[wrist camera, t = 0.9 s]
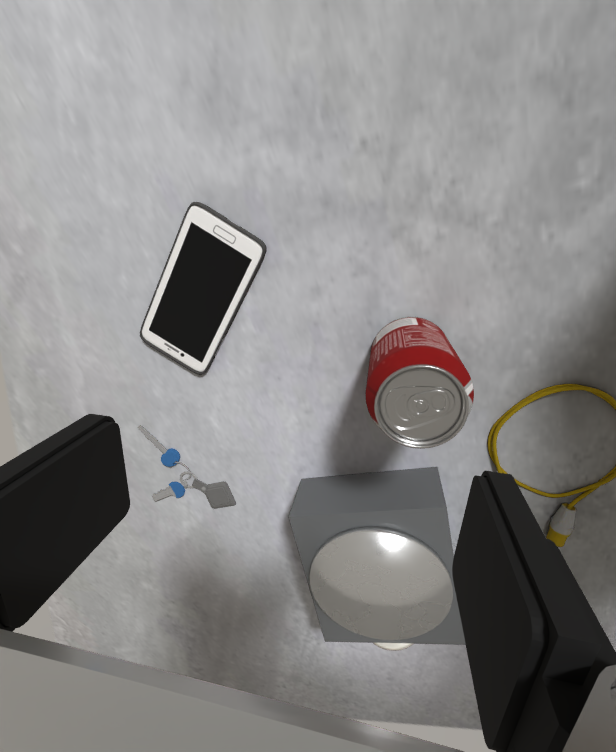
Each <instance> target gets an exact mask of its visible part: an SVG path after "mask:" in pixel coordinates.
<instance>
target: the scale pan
mask: <svg viewBox="0 0 616 752" xmlns="http://www.w3.org/2000/svg"><path fill="white" fill-rule="evenodd" d="M310 586H311V591H312V593H313V596H314V598H315V600H316V602H317V603H318V605H319V606H320V608H321V609H322V610H323V611H324V612H325V613H326V614H327V615H328V616H329V617H330V618H331V619H332V620H333V621H335V622H336V623H338V624H339V625H341V626H342V627H344V628H346V629H348V630H350V631H352V632H354V633H357V634H360V635H363V636H366V637H370V638H375V639H382V640H402V639H409V638H413V637H417V636H419V635H422V634H425V633H427V632H429V631H430V630H432V629H433V628H435V627H436V626H438V625H439V624H440V623H441V622H442V621H443V620H444V618H445V617H446V616H447V614H448V612H449V610H450V608H451V605H452V600H453V588H452V583H451V578H450V574H449V571H448V569H447V567H446V565H445V563H444V562H443V560H442V559H441V557H440V556H439V555H438V554H437V553H436V552H435V551H434V550H433V549H432V548H431V547H430V546H429V545H427V544H426V543H425V542H423V541H422V540H420V539H418V538H417V537H415V536H413V535H410V534H408V533H406V532H403V531H400V530H397V529H393V528H388V527H380V526H363V527H355V528H351V529H347V530H344V531H342V532H339V533H337V534H335V535H333V536H332V537H330V538H329V539H328V540H326V541H325V542H324V543H323V544H322V545H321V546H320V548H319V549H318V550H317V552H316V554H315V556H314V558H313V562H312V565H311V570H310Z"/></svg>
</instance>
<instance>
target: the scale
mask: <svg viewBox="0 0 616 752" xmlns="http://www.w3.org/2000/svg"><path fill="white" fill-rule="evenodd" d="M289 520H290V524H291V527H292V531H293V534H294V537H295V541H296V544H297V548H298V551H299V554H300V558H301V561H302V565H303V568H304V571H305V575H306V578H307V582H308V585H309V589H310V592H311V595H312V599H313V602H314V606H315V609H316V612H317V616H318V619H319V623H320V626H321V629H322V633H323V636H324V640H325V642H368V643H374V644H375V645H377V646H378V647H380V648H383V649H386V650H392V651H396V650H402V649H406V648H408V647H410V646H411V645H413V644H455V645H466V643H465V638H464V633H463V628H462V623H461V618H460V612H459V607H458V602H457V597H456V592H455V587H454V582H453V576H452V565H453V559H454V556H453V549H452V542H451V535H450V528H449V521H448V514H447V507H446V503H445V498H444V494H443V489H442V485H441V481H440V476H439V472H438V468H437V467H430V468H419V469H408V470H397V471H385V472H374V473H363V474H352V475H341V476H329V477H318V478H307V479H301V482H300V485H299V488H298V491H297V494H296V497H295V500H294V503H293V505H292V508H291V511H290V514H289ZM363 526H380V527H388V528H393V529H397V530H400V531H403V532H406V533H408V534H410V535H413V536H415V537H417V538H418V539H420V540H422V541H423V542H425V543H426V544H427V545H429V546H430V547H431V548H432V549H433V550H434V551H435V552H436V553H437V554H438V555H439V556H440V557H441V559H442V560H443V562H444V563H445V565H446V567H447V569H448V571H449V574H450V578H451V583H452V588H453V600H452V605H451V608H450V610H449V612H448V614H447V616H446V617H445V618H444V620H443V621H442V622H441V623H440V624H439V625H438V626H436V627H435V628H433V629H432V630H430V631H429V632H427V633H425V634H422V635H419V636H417V637H413V638H409V639H402V640H382V639H375V638H370V637H366V636H363V635H360V634H357V633H354V632H352V631H350V630H348V629H346V628H344V627H342V626H341V625H339V624H338V623H336V622H335V621H333V620H332V619H331V618H330V617H329V616H328V615H327V614H326V613H325V612H324V611H323V610H322V609H321V608H320V606H319V605H318V603H317V602H316V600H315V598H314V596H313V593H312V591H311V586H310V570H311V565H312V562H313V558H314V556H315V554H316V552H317V550H318V549H319V548H320V546H321V545H322V544H323V543H324V542H325V541H326V540H328V539H329V538H330V537H332V536H333V535H335V534H337V533H339V532H342V531H344V530H347V529H351V528H355V527H363Z"/></svg>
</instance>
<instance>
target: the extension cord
mask: <svg viewBox="0 0 616 752" xmlns="http://www.w3.org/2000/svg"><path fill="white" fill-rule="evenodd" d="M568 390H585V391H588V392H591V393H593V394H595V395H597V396H599V397H600V398H602V399H604V400H605V401H606V402H608V403H609V404H610V405H611V406H612V407H613V408H614V409H615V410H616V400H615V399H614V398H613V397H612V396H610V395H609V394H607V393H606V392H603V391H601V390H599V389H595V388H591V387H587V386H583V385H577V384H561V385H555V386H551V387H547V388H545V389H542V390H539V391H537V392H535V393H533V394H531V395H530V396H528V397H526V398H525V399H523V400H521V401H520V402H519V403H517V404H516V405H514V406H513V407H512V408H511V409H510V410H508V411H507V412H506V413H505V414H504V415H503V416H502V417H500V418H499V419H498V420H497V421H496V423H495V424H494V425H493V427H492V429H491V430H490V433H489V436H488V451H489V454H490V457H491V459H492V461H493V463H494V464H495V466H496V468H497V471H498V473H505V474H507V473H506V472H505V471H504V470H503V469H502V468H501V467H500V464H499V460H498V456H497V449H496V440H497V435H498V433H499V430H500V429H501V427H502V426H503V424H504V423H505V422H506V421H507V420H508V419H509V418H510V417H511V416H512V415H513V414H514V413H516V412H517V411H518V410H520V409H521V408H522V407H524V406H526V405H527V404H529V403H531V402H532V401H534V400H537V399H539V398H541V397H543V396H546V395H549V394H552V393H557V392H561V391H568ZM494 431H495V432H494ZM493 433H494V435H493ZM492 436H493V439H492ZM491 443H492V444H491ZM492 449H493V451H492ZM615 477H616V466H615V467H614V468H613V469H612V470H611V471H610V472H609V473H608V474H607V475H606V476H604V477H603V478H602V479H600V480H599V481H598V482H597V483H594V484H591V485H589V486H586V487H583V488H580V489H577V490H574V491H570V492H566V493H561V494H550V493H545V492H542V491H539V490H537V489H534V488H532V487H529V486H527V485H525V484H523V483H521V482H519V481H517V480H516V479H515V481H516V483H517V485H519V486H521V487H523V488H525V489H527V490H530V491H532V492H535V493H537V494H540V495H543V496H546V497H552V498H558V497H565V496H571V495H574V494H577V493H580V492H583V491H585V492H584V493H582V494H581V495H580V496H578V497H577V498H575V499H574V500H573V501H572V502H571V503H570V504H568V503H563V504H562V506H561V507H560V508H559V509H558V511H557V512H556V513H555V515H554V516H552V517H551V519H552V520H551V522H550V524H549V527H550V529H549V531H548V534H547V536H546V538H547V539H550V540H551V541H553V542H554V543H555V544H556V546H558V547H562V546H564V544H565V541H566V539H567V537H568V536H570V535H571V532H572V530H573V529H574V522H575V514H576V511H577V510H576V508H575V507H574V505H575V504H576V503H577V502H579V501H580V500H581V499H583V498H584V497H586V496H587V495H588V494H590V493H591V492H593V491H594V490H595V489H597V488H598V487H599V486H601V485H603V484H605V483H607V482H609V481H611V480H612V479H614V478H615ZM605 478H606V479H605ZM603 479H604V480H603ZM601 480H602V481H601Z"/></svg>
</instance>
